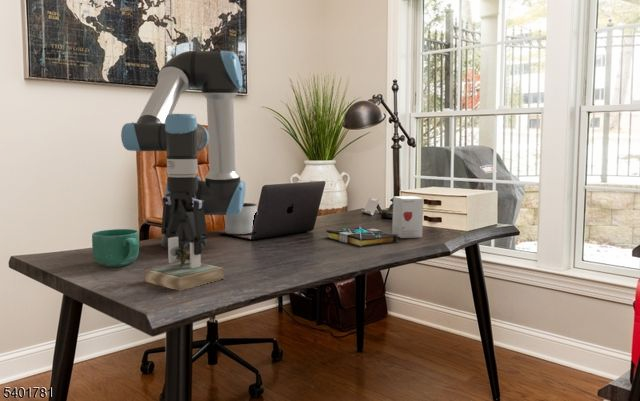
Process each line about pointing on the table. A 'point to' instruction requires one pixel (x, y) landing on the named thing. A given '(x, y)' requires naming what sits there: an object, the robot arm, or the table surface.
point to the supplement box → (407, 216)
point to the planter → (241, 220)
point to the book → (362, 236)
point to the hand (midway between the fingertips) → (184, 264)
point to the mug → (115, 247)
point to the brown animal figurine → (184, 251)
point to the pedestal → (183, 275)
